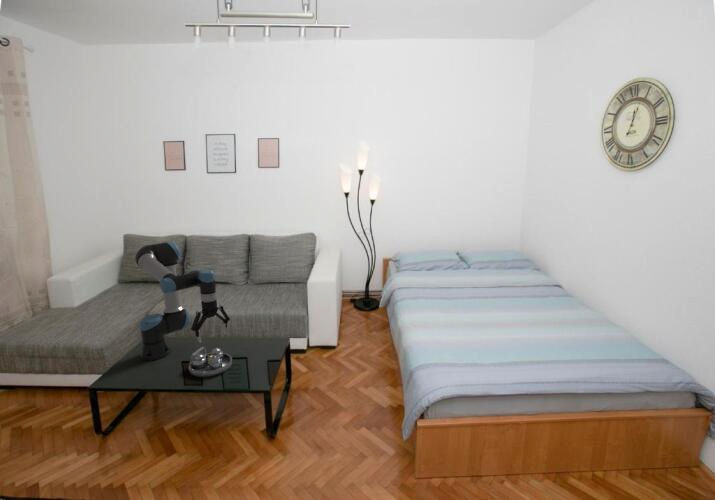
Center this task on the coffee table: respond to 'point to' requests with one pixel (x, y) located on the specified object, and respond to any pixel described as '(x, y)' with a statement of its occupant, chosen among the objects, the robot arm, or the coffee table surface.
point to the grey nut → (215, 363)
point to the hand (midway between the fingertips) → (212, 337)
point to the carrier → (202, 367)
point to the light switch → (199, 351)
